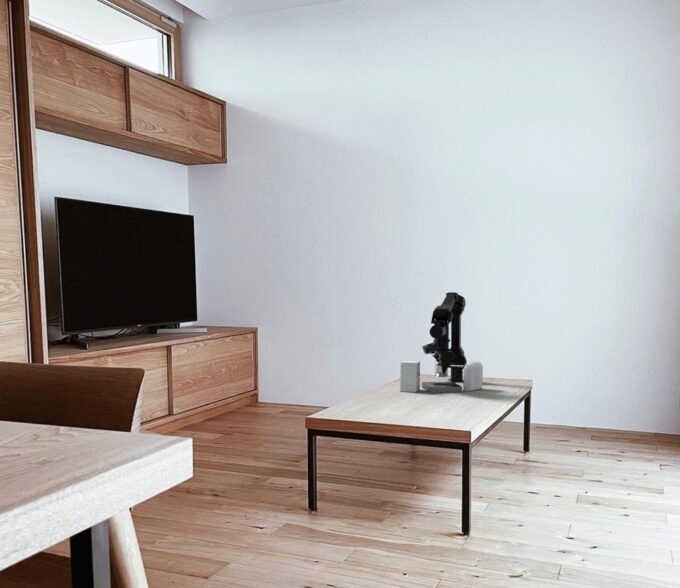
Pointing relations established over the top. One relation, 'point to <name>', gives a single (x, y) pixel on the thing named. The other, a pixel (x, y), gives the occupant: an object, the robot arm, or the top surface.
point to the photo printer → (473, 376)
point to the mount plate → (442, 387)
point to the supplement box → (410, 376)
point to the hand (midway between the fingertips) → (441, 372)
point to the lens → (440, 370)
